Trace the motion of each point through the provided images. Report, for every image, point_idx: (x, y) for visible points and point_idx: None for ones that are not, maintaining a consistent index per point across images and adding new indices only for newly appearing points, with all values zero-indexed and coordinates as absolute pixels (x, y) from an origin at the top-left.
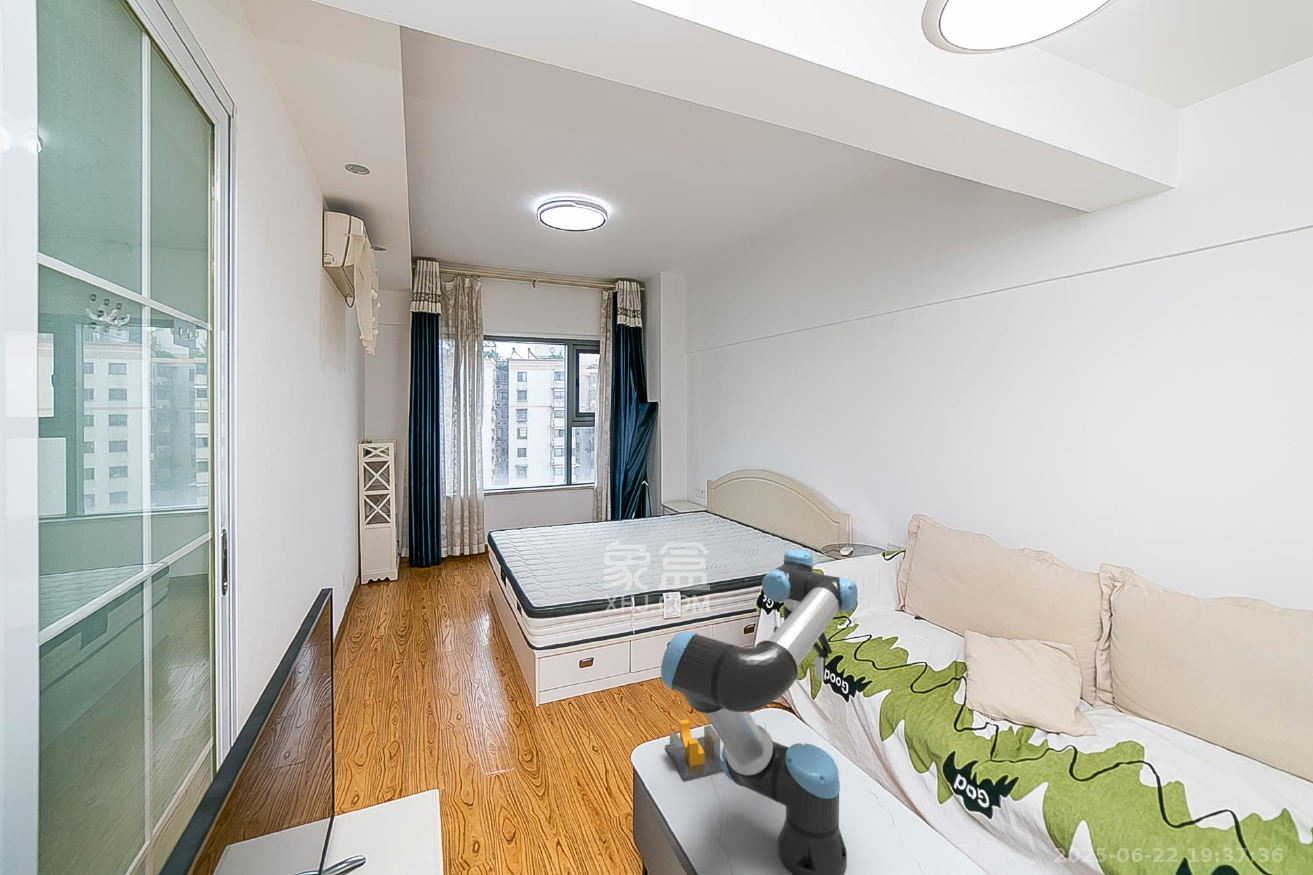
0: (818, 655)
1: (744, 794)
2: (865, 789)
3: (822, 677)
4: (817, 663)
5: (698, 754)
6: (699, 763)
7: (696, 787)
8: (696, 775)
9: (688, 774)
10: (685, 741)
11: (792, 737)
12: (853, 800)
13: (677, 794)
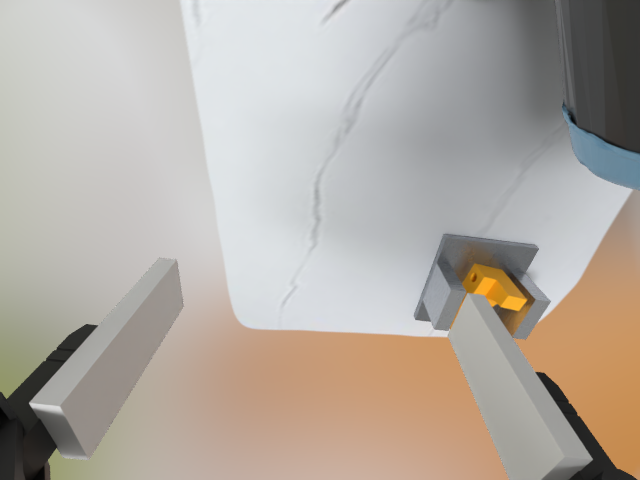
0: (64, 442)
1: (468, 161)
2: (206, 37)
3: (153, 272)
4: (125, 372)
5: (495, 278)
6: (485, 266)
7: (529, 221)
8: (512, 244)
9: (524, 252)
10: None
11: (256, 255)
12: (261, 17)
13: (574, 221)
